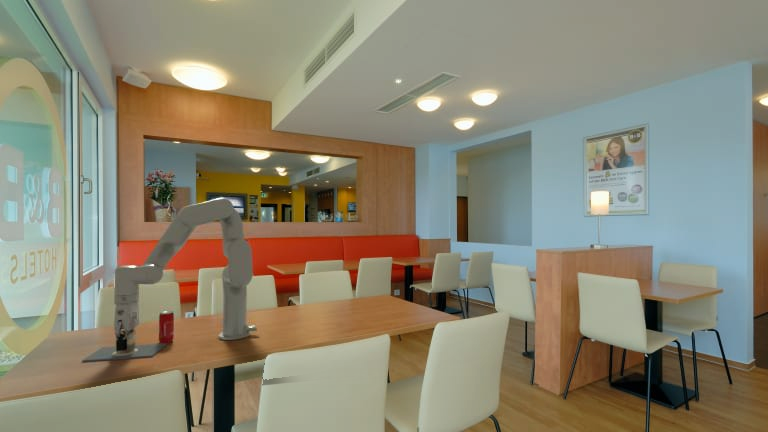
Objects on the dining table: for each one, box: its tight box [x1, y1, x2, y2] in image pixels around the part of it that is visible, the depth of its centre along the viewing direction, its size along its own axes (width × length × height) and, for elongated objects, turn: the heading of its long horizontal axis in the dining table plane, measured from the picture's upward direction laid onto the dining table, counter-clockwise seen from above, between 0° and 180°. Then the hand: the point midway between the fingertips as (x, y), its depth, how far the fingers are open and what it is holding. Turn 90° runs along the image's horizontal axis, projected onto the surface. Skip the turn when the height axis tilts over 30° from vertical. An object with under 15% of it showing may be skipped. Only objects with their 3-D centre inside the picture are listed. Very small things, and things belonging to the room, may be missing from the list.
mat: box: [81, 343, 167, 363], centre depth 138 cm, size 22×14×1 cm, turn 104°
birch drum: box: [116, 331, 137, 353], centre depth 137 cm, size 6×6×6 cm
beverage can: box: [158, 310, 175, 344], centre depth 151 cm, size 5×5×12 cm
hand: (125, 346), depth 137 cm, fingers closed on birch drum, 6 cm apart
